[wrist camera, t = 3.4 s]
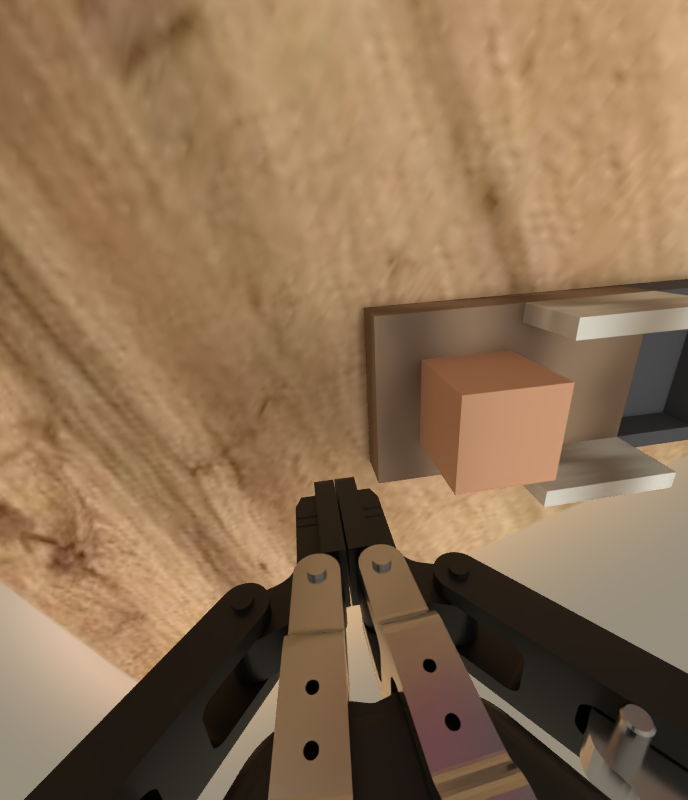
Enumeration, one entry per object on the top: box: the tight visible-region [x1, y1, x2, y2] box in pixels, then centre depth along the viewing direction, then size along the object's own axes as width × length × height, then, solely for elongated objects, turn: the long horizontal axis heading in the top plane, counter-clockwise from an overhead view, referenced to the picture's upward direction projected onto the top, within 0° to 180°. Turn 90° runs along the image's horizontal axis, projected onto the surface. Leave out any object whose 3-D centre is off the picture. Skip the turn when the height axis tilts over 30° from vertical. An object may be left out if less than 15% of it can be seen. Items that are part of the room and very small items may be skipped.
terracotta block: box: [420, 350, 575, 495], centre depth 19 cm, size 5×5×5 cm
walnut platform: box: [364, 286, 688, 507], centre depth 21 cm, size 16×10×6 cm, turn 94°
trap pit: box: [617, 279, 688, 447], centre depth 24 cm, size 6×10×2 cm, turn 4°
